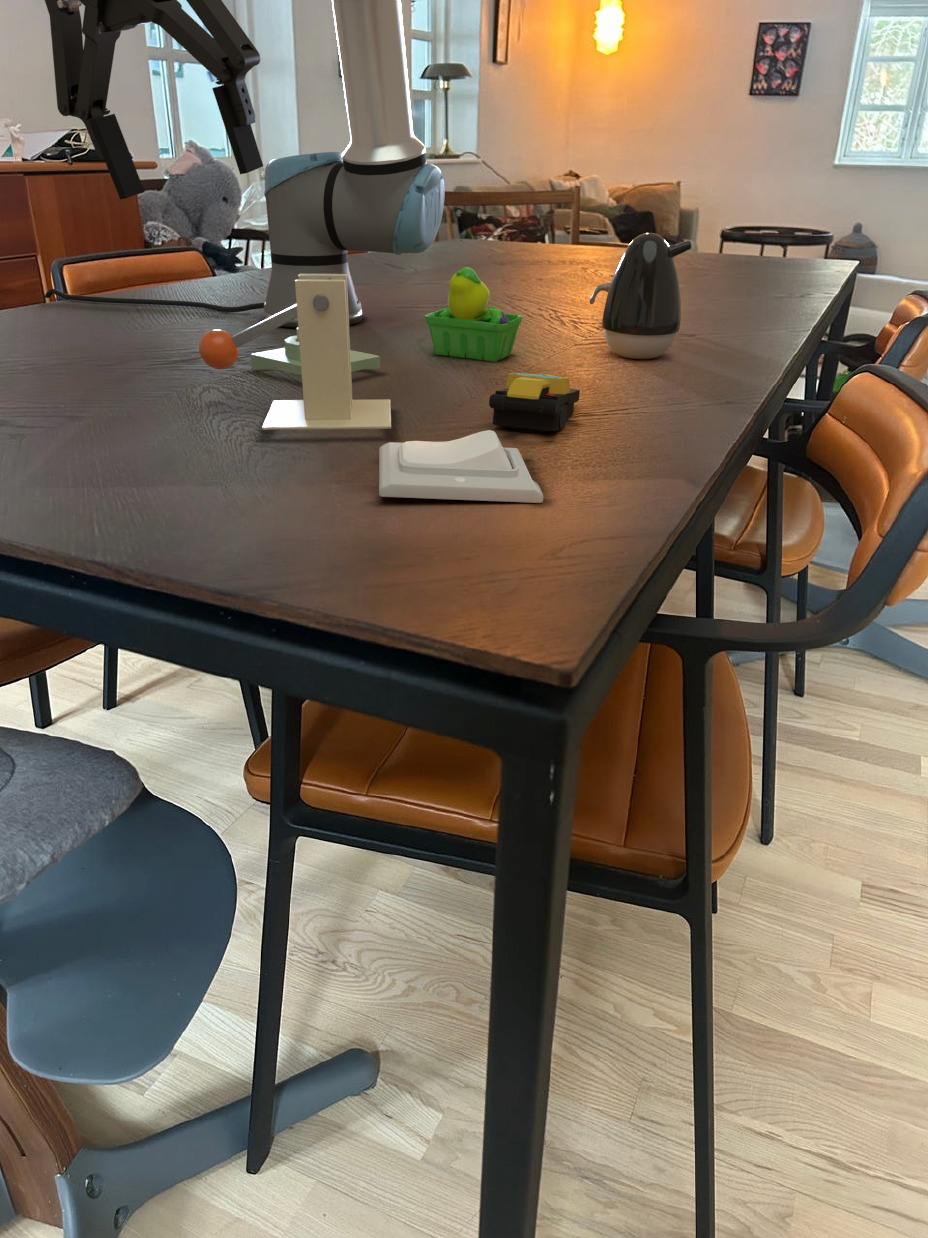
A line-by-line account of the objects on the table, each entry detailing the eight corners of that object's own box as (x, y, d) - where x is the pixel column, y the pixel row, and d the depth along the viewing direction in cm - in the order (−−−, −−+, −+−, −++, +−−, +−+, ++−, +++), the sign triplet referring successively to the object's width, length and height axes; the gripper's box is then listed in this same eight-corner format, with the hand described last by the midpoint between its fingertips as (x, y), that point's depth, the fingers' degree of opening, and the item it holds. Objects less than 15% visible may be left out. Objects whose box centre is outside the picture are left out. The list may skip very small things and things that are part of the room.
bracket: (262, 440, 82) (247, 284, 76) (274, 412, 91) (261, 269, 84) (391, 439, 83) (387, 284, 77) (390, 411, 92) (386, 270, 85)
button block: (252, 372, 107) (248, 338, 105) (314, 359, 113) (312, 327, 112) (318, 388, 100) (315, 352, 98) (380, 374, 107) (379, 340, 105)
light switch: (548, 460, 67) (380, 453, 66) (542, 511, 69) (378, 505, 68) (527, 421, 77) (380, 414, 75) (522, 467, 79) (378, 460, 77)
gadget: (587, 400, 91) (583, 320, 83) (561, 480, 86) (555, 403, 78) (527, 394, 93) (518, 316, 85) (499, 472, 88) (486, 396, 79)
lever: (209, 379, 82) (188, 343, 81) (215, 370, 85) (195, 336, 84) (344, 312, 80) (325, 274, 79) (346, 306, 84) (327, 269, 82)
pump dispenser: (678, 365, 113) (694, 237, 106) (597, 360, 115) (607, 234, 108) (677, 349, 122) (692, 230, 115) (602, 345, 124) (612, 228, 117)
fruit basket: (523, 353, 118) (527, 264, 113) (498, 366, 111) (500, 271, 106) (447, 345, 123) (447, 258, 117) (418, 357, 115) (417, 265, 110)
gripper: (-65, -70, 70) (60, 214, 81) (183, -174, 59) (285, 168, 71) (4, -72, 75) (112, 195, 87) (241, -167, 65) (327, 149, 77)
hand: (190, 183), depth 79 cm, fingers open, 13 cm apart
